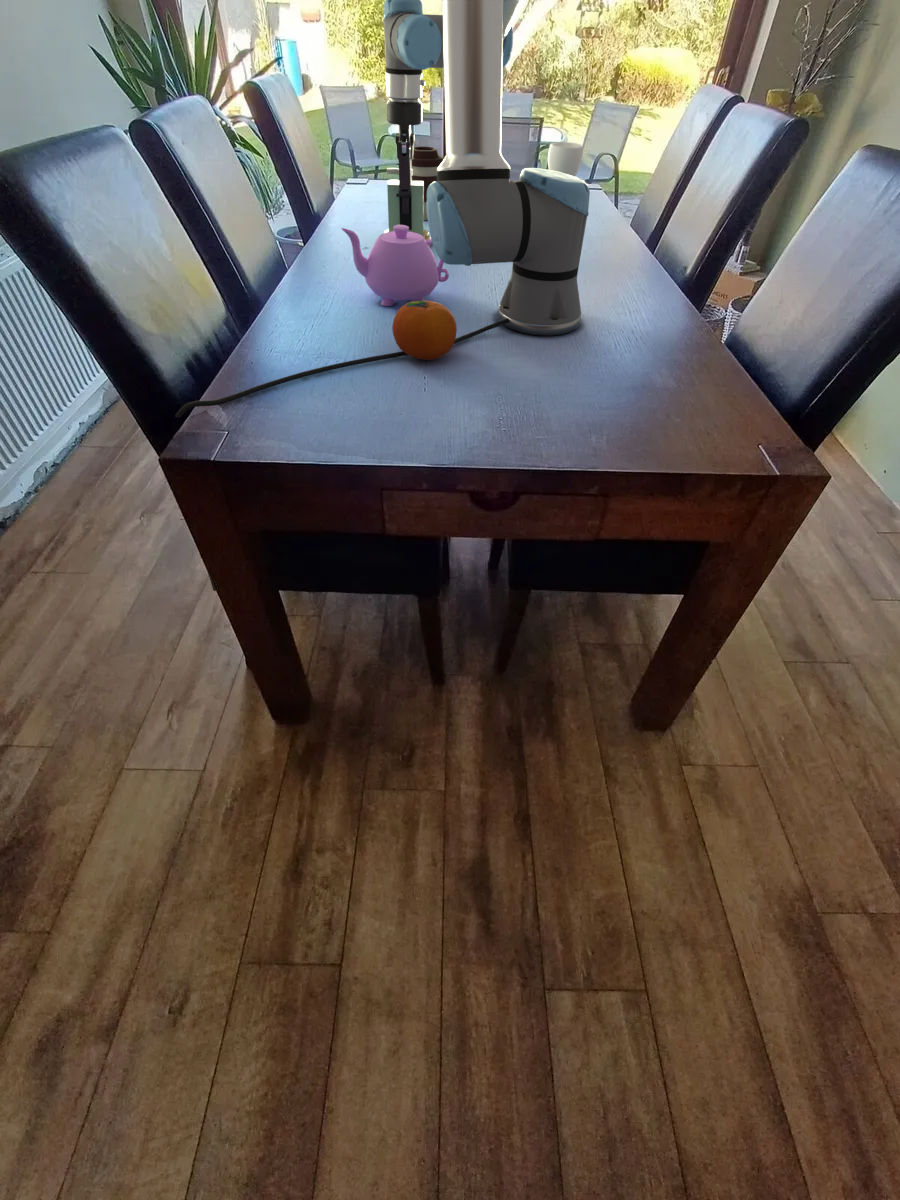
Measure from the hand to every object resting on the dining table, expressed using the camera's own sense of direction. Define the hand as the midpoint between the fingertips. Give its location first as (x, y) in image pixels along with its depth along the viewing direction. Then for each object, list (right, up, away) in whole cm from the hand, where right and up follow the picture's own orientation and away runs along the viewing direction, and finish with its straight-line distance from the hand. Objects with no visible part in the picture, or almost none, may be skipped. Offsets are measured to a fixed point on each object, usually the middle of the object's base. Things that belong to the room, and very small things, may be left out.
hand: (406, 225), depth 147 cm
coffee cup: (+3, +14, +20) cm, 25 cm away
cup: (+40, +18, +25) cm, 50 cm away
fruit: (+6, -47, -42) cm, 63 cm away
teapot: (0, -28, -23) cm, 37 cm away
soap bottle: (0, -2, +2) cm, 2 cm away
